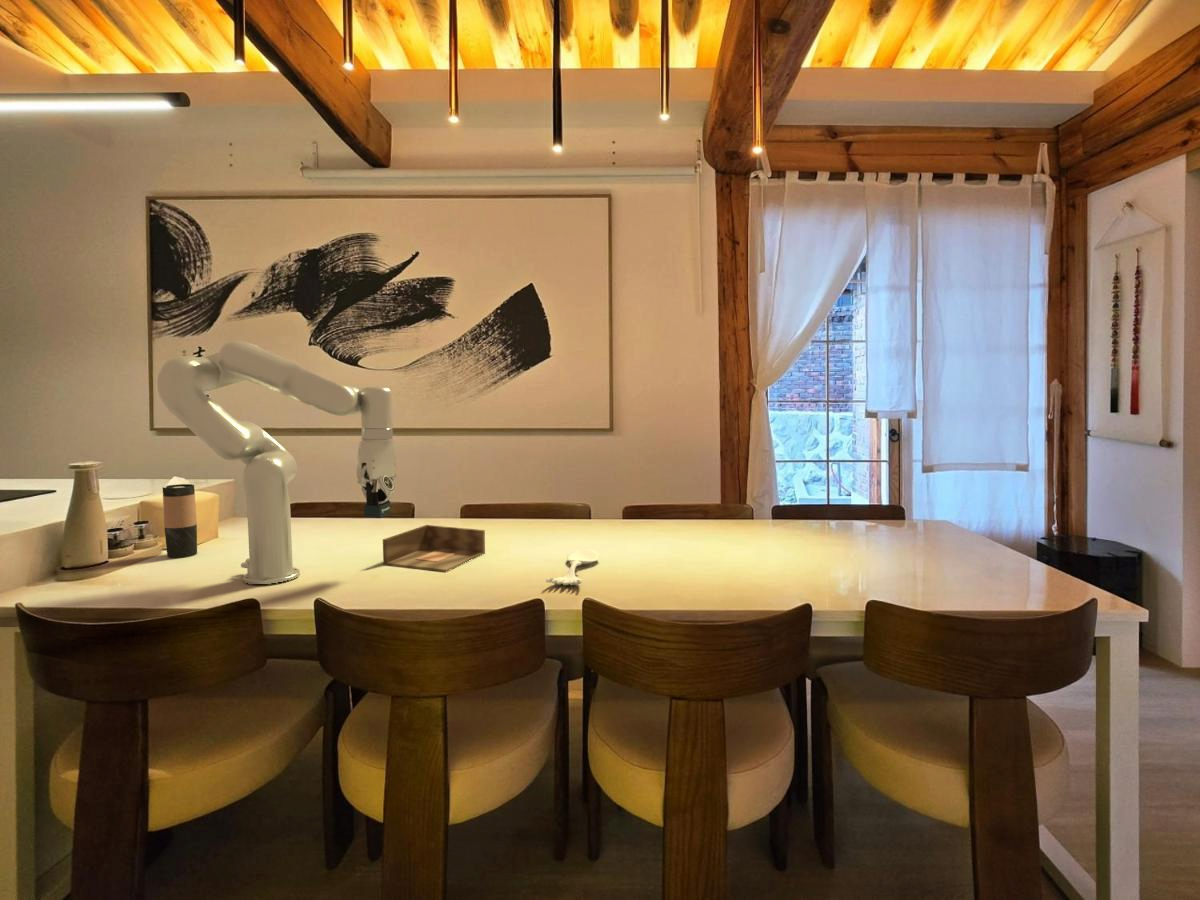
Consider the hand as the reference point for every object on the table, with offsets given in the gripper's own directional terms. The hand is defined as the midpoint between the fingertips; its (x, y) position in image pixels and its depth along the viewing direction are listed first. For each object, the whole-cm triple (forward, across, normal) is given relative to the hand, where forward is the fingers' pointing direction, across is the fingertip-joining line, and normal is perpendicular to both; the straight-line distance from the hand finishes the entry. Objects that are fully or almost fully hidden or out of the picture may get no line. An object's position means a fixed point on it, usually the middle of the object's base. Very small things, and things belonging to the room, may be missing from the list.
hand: (378, 505), depth 160 cm
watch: (+3, 0, 0) cm, 3 cm away
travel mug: (+19, +6, -64) cm, 67 cm away
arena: (+18, -16, +6) cm, 25 cm away
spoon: (+18, -18, +48) cm, 55 cm away
